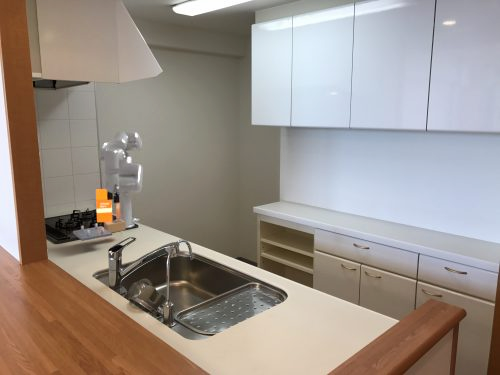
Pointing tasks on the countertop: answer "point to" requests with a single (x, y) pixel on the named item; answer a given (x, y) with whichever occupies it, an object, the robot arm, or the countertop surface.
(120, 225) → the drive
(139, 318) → the countertop surface
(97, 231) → the pin tray
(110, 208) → the orange juice
